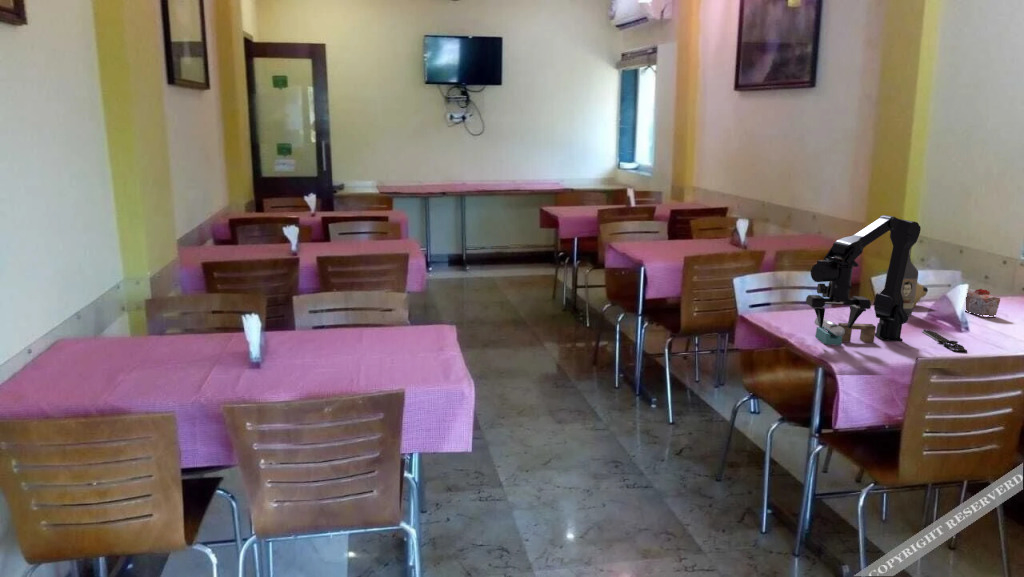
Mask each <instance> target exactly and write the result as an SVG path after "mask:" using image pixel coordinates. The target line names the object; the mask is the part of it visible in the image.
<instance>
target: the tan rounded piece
mask: <svg viewBox="0 0 1024 577" xmlns="http://www.w3.org/2000/svg"><path fill="white" fill-rule="evenodd" d="M928 291H929V290H928V288H927V287H926V286H925V285H924V284H920V283H919V282H918V281H917V286H916V293H915V299H914V305H913V308H914V307H916V306H917V303H919V302H920V301H921V299H922V298H924V297H925V296H926V295H927V293H928Z"/></svg>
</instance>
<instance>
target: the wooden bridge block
mask: <svg viewBox="0 0 1024 577" xmlns="http://www.w3.org/2000/svg"><path fill="white" fill-rule="evenodd" d="M837 325H839V326H841V327H843V328H844V329H845V333H844V335H843V336H842V342H851V338H852V332H853V330H860V333H859V340H860V341H861V342H863V343H874V341H875V336H876V335H875V333H876V331H877V325H876V326H875V325H874V324H873V323H855V322H854V324H853V325H852V327H851V328H850V329H849V328H848V322H838V324H837Z"/></svg>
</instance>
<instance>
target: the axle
mask: <svg viewBox="0 0 1024 577" xmlns="http://www.w3.org/2000/svg"><path fill="white" fill-rule="evenodd" d="M814 324H815V325H816V326H817V327H819V323H818V319H817V317H816V318H815V319H814ZM822 328H823V329H824V330H826V331H827V332H830V333H832V334H834V335H836V336H839V337H841V336H843V335H844V333H845V329H844V328H843V327H841V326H839V325H838V324H836V323H835V322H832V321H831V320H828V319H826V318H824V320H823V325H822Z"/></svg>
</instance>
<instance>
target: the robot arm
mask: <svg viewBox="0 0 1024 577" xmlns="http://www.w3.org/2000/svg"><path fill="white" fill-rule="evenodd" d="M888 232H890V233H889V234H890V235H889V238H890V241H891V244H892V251H891V253H890V254H891V256H890V260H889V264H888V268H887V270H888V273H887V272H886V275H887V278H886V277H885V283H884V288H883V289H882V290H881V291H880V293H878V292H877V293H876V294H874V295H875V296H874V302H873V303H872V302H871V300H870V299H869V298H867V297H865V296H862V295H861V296H856V295H853V296H852V297H850V290H851V289H853V285H851V283H852V276H853V269H854V268H855V267H859V263H857V261H855V260H856V259H858V257H859V256H861V255H862V254H863V252H864V248H866V247H867V246H868V245H869V244H871V243H873V242H874V241H876V240H877V239H879V238H880V237H881V236H883V235H886V233H888ZM920 233H921V226H920V224H919V223H918V222H917V221H912V220H907V219H906V220H905V219H902V218H898V217H896V216H893V215H888V214H884V215H880V216H879V217H878V219H876V220H875V221H872V223H870V224H869V225H867V226H866V227H864V228H863V229H861V230H860V231H858V232H857V233H855V234H853V235H851V236H850V235H849V236H845V237H841V238H840V239H837V240H835V242H833V244H832V246H831V247H830V249H829V250H828V252H827V254H826V255H825V256H824V257H823V260H821V259H817V261H816V264H814V265H813V266H812V267H811V269H810V278H811V279H812V281H813V282H815V283H817V287H816V292H817V294H808V295H807V296H806V298H805V304H807V305H808V306H810V307H811V308H812V309H813V310H814V311H815V315H816V318H817V319H818V323H819V326H818V327H820V328H822V325H823V320H824V319H825V314H826V313H825V312H826V308H825V307H824V306H826V305H839V306H840V305H841V306H842V305H843V306H849V317H848V321H847V323H848V328H849V329H850V328H851V327H852V325H853V324H854V323H855V322H856V321H857V319H858V318H859V317H860V316H861V315H862V314H863V313H864V312H866V311H867V310H871V307H872V304H873V306H874V307H873V308H874V309H873V310H874V312H875V318H877V319H879V321H878V323H877V325H876V330H875V336H876V337H878V338H879V339H881V340H882V341H899V342H901V341H902V342H903V338H902V337H901V333H902V329H903V328H902V327H903V325H905V324H907V323H908V320H909V317H910V316H908V315H907V314H906V312H905V311H904V309H903V305H904V300H903V297H902V294H901V288H902V283H903V278H904V274H905V269H906V265H907V260H908V256H909V251H910V248H911V247H912V248H913V247H914V245H915V244H916V243H917V242H918V240H919V236H920ZM824 282H825V283H824ZM826 282H829V283H828V285H826ZM820 294H821V295H822V296H821V295H820Z"/></svg>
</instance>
